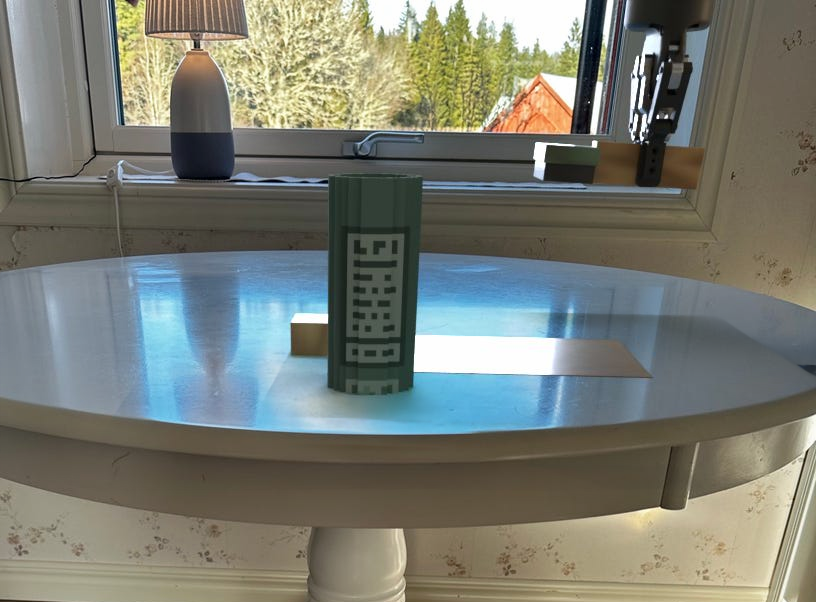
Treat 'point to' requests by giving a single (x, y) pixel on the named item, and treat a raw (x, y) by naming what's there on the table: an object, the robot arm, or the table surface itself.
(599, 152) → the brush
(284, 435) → the table surface
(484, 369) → the board
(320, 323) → the cork block
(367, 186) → the can
